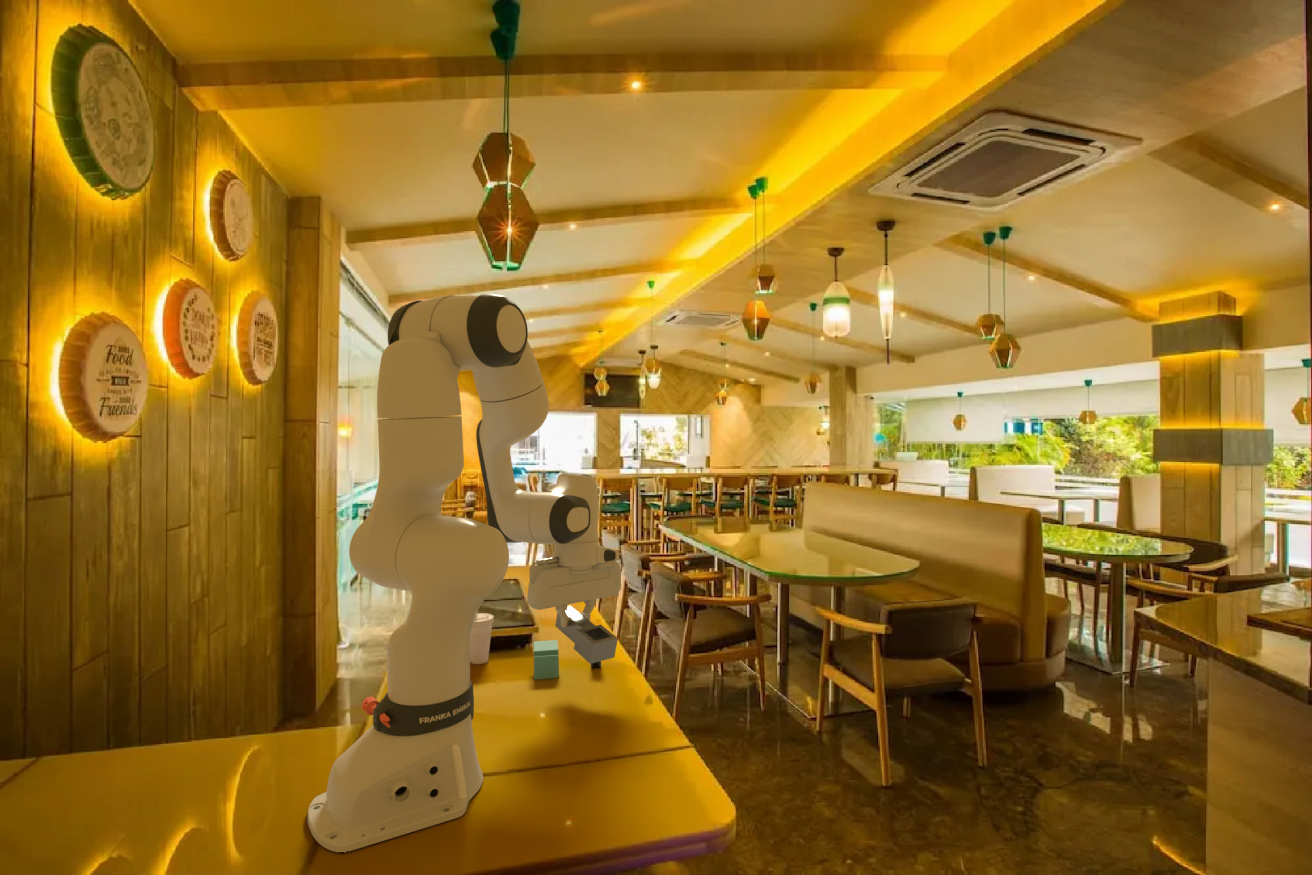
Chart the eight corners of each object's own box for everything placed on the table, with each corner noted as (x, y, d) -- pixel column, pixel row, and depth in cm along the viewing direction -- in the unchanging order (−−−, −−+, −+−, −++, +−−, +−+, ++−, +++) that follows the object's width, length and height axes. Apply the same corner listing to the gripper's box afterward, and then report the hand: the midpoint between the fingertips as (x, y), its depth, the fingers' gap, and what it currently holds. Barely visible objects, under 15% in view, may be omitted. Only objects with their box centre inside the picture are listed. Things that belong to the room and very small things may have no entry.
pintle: (594, 669, 133) (594, 641, 133) (588, 666, 135) (588, 638, 135) (603, 667, 135) (602, 639, 135) (597, 664, 136) (596, 636, 136)
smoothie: (464, 657, 141) (463, 595, 141) (493, 654, 143) (493, 592, 142) (464, 668, 135) (463, 602, 134) (495, 664, 137) (494, 600, 136)
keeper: (557, 664, 136) (557, 639, 136) (558, 677, 129) (558, 651, 129) (533, 666, 135) (533, 641, 135) (534, 679, 128) (533, 653, 128)
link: (614, 657, 120) (617, 638, 119) (590, 663, 116) (593, 643, 116) (572, 622, 131) (575, 604, 130) (549, 627, 127) (552, 608, 126)
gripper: (538, 562, 116) (537, 638, 116) (625, 551, 129) (625, 618, 129) (521, 558, 121) (520, 630, 121) (607, 547, 134) (606, 612, 134)
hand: (575, 624), depth 125 cm, fingers closed on link, 3 cm apart
